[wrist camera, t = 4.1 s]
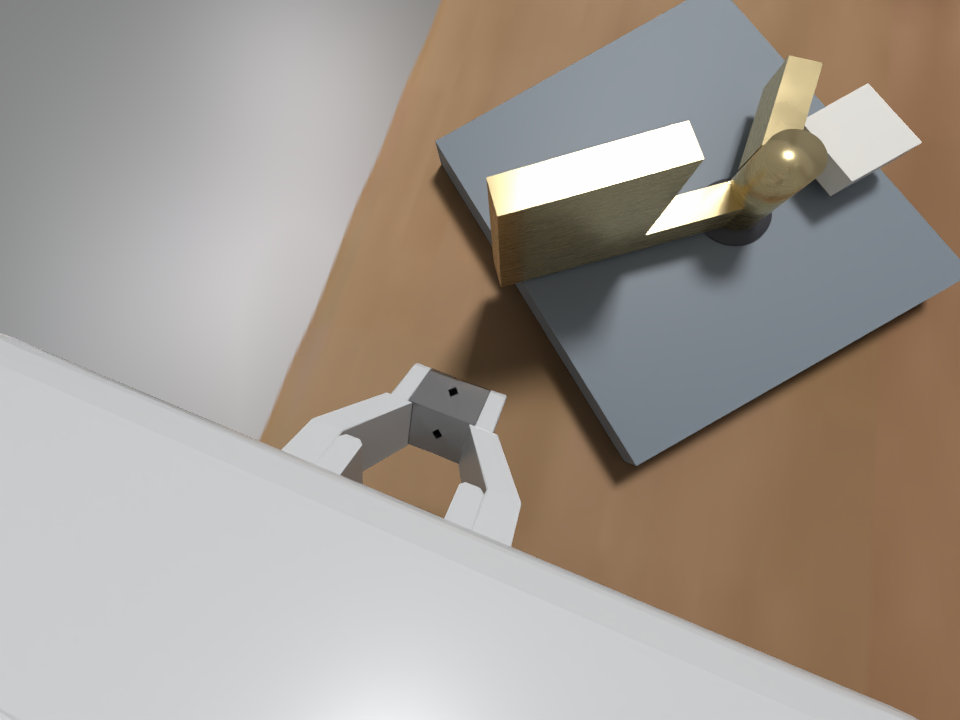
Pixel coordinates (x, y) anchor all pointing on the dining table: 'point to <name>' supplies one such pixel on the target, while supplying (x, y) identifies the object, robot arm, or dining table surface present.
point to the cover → (858, 137)
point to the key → (652, 187)
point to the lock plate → (698, 236)
